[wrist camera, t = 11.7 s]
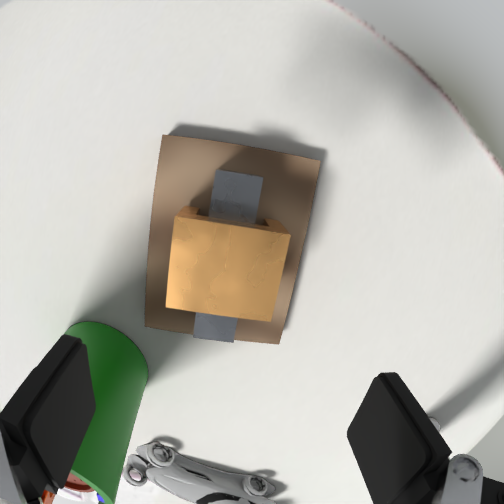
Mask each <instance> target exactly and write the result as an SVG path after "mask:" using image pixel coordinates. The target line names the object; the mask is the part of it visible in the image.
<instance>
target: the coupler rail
mask: <svg viewBox="0 0 504 504" xmlns="http://www.w3.org/2000/svg"><path fill="white" fill-rule="evenodd" d="M262 183H263V177H261V176H259V175H254V174H249V173H243V172H236V171H230V170H224V169H216V172H215V178H214V184H213V190H212V196H211V203H210V209H209V216H208V217H213V218H220V219H226V220H232V221H239V222H245V223H251V224H255V221H256V216H257V210H258V205H259V199H260V194H261V188H262ZM237 320H238V318H235V317H228V316H220V315H213V314H206V313H199V312H196V316H195V325H194V334H193V337H194V338H201V339H208V340H216V341H224V342H234V336H235V331H236V325H237Z"/></svg>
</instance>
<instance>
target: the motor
mask: <svg viewBox="0 0 504 504" xmlns="http://www.w3.org/2000/svg"><path fill="white" fill-rule="evenodd" d="M64 334H67V335H71V336H74V337H78V338H80V339H81V340H82V343H83V344H86V346H87V352H88V360H89V367H90V374H91V380H92V386H93V391H94V397H95V402H96V410H95V413H94V416H93V418H92V420H91V423H90V425H89V427H88V430H87V432H86V434H85V437H84V439H83V441H82V444H81V446H80V448H79V451H78V453H77V456H76V458H75V461H74V463H73V466H72V468H71V471H70V473H69V476H68V479H67V481H66V484H65V486H64V487H65V488H68V489H71V490H74V491H79V492H92V491H94V490H95V491H96V492H97V497H98V501H99V503H98V504H114V503H115V499H116V494H117V490H118V486H119V481H120V477H121V473H122V469H123V465H124V461H125V457H126V453H127V449H128V445H129V442H130V438H131V434H132V431H133V427H134V423H135V420H136V416H137V413H138V409H139V406H140V402H141V399H142V396H143V392H144V389H145V386H146V382H147V379H148V367H147V363H146V361H145V358H144V356H143V355H142V353H141V351H140V350H139V349H138V347H137V346H136V345H135V344H134V343H133V342H132V341H131V340H130V339H129V338H128V337H127V336H125V335H124V334H123V333H121V332H119V331H118V330H116V329H114V328H112V327H110V326H107V325H105V324H101V323H97V322H80V323H77V324H75V325H73V326H71V327H70V328H69V329H68V330H67V331H66V332H65V333H64ZM54 497H55V494H53V493H51V492H49V491H46V490H44V492H43V494H42V497H41V499H42V501H43V504H52V502H53V499H54Z"/></svg>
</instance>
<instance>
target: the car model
mask: <svg viewBox="0 0 504 504" xmlns="http://www.w3.org/2000/svg"><path fill="white" fill-rule="evenodd" d="M136 451H137V453H138V454H139V455H140V456H138V455H133V454H131V455H130V456H129V457H128V463H127V465H126V467H125V468H124V471H123V476H124V479H125V480H126V482H127V483H129V484H130V485H133V486H142V485H144V484H145V483H146V482H147V478H148V479H149V480H150V481H152V482H153V483H154V484H156V485H158V486H159V487H161V488H162V489H164V490H166V491H168V492H170V493H172V494H174V495H176V496H178V497H180V498H182V499H185V500H187V501H190V502H193V503H195V504H276V503H275V502H274V501H272V500H270V499H267V498H265V497H263V495H270V494H271V493H273V492H274V491H275V490H276V488H275V487H274V486H273V485H271V484H270V483H268V482H267V481H266V480H264V479H263V478H262V477H258V476H254V475H253V476H252V475H246V474H238V473H231V472H226V471H222V470H219V469H215V468H212V467H208V466H205V465H203V464H200V463H198V462H195V461H193V460H190V459H188V458H186V457H184V456H182V455H180V454H178V453H177V452H175V451H174V450H172V449H171V448H170V447H167V446H164V445H162V444H160V443H158V442H153V443H150V444H146V445H142V446H139V447H137V449H136ZM130 470H135V471H137V472H138V473H139V474H140V475H141V481H136V480H134V479H132V478H131V476H130V474H129V472H130Z"/></svg>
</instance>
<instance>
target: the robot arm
mask: <svg viewBox="0 0 504 504" xmlns="http://www.w3.org/2000/svg"><path fill="white" fill-rule="evenodd" d="M95 410H96V402H95V397H94V391H93V386H92V380H91V374H90V367H89V360H88V352H87V346H86V344H83V343H82V340H81V339H80V338H78V337H74V336H71V335H67V334H63V335H62V336H61V337H60V339H59V340H58V341H57V342H56V343H55V345H54V346H53V347H52V348H51V350H50V351H49V352H48V353H47V354H46V356H45V357H44V358H43V359H42V361H41V362H40V363H39V365H38V366H37V367H35V368H34V369H33V370H32V371H31V373H30V374H29V375H28V377H27V378H26V379H25V380H24V382H23V383H22V384H21V386H20V387H19V388H18V390H17V391H16V392H15V394H14V395H13V396H12V398H11V399H10V401H9V402H8V403H7V405H6V406H5V408H4V409H3V410H2V412H1V413H0V504H43V501H42V499H41V497H42V494H43V492H44V490H46V491H49V492H51V493H53V494H57V491H58V489H59V488H60V489H62V488H64V486H65V484H66V481H67V479H68V476H69V473H70V471H71V468H72V466H73V463H74V461H75V458H76V456H77V453H78V451H79V448H80V446H81V444H82V441H83V439H84V437H85V434H86V432H87V430H88V427H89V425H90V423H91V420H92V418H93V416H94V413H95ZM439 431H440V425H439V423H438V422H437V420H436V419H434V418H429V417H428V416H427V414H426V413H425V411H424V410H423V409H422V407H421V406H420V404H419V403H418V401H417V400H416V399H415V397H414V396H413V394H412V393H411V392H410V390H409V389H408V387H407V386H406V385H405V383H404V382H403V380H402V379H401V378H400V376H399V375H398V374H397V373H395V372H389V373H380V374H379V375H378V376H377V377H375V378H374V379H373V381H372V383H371V385H370V387H369V389H368V392H367V394H366V396H365V398H364V400H363V402H362V403H361V405H360V407H359V409H358V411H357V413H356V415H355V417H354V419H353V421H352V422H351V424H350V426H349V428H348V430H347V438H348V440H349V443H350V445H351V448H352V450H353V453H354V455H355V458H356V460H357V463H358V465H359V468H360V470H361V473H362V476H363V478H364V481H365V483H366V486H367V488H368V491H369V493H370V496H371V498H372V501H373V504H504V483H502V482H499V481H495V480H492V479H489V478H486V477H483V469H482V467H481V465H480V463H479V462H478V461H477V460H476V459H475V458H474V457H472V456H469V455H466V454H458V455H456V456H454V457H453V458H452V459H450V458H449V455H450V454H451V453H452V451H451V450H450V448H449V447H448V445H447V444H446V442H445V441H444V439H443V438H442V436H441V435H440V433H439Z"/></svg>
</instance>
